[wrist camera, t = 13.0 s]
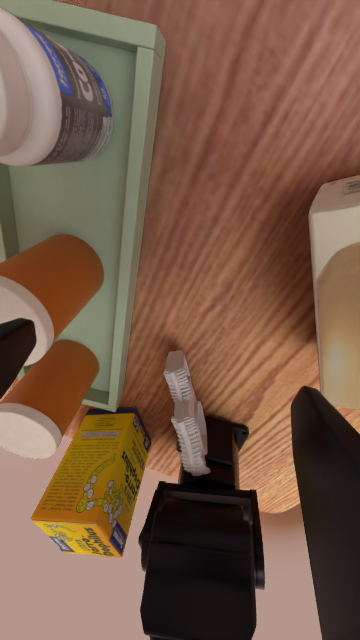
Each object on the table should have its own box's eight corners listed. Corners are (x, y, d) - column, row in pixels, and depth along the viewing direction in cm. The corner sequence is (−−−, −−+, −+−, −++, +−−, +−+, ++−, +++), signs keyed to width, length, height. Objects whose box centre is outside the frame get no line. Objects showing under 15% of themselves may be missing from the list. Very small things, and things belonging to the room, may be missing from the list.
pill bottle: (131, 96, 14) (39, 48, 7) (94, 178, 17) (-1, 201, 10) (48, 27, 13) (-146, -103, 6) (22, 124, 16) (-140, 107, 9)
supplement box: (153, 441, 32) (123, 559, 23) (107, 442, 33) (61, 554, 24) (137, 405, 29) (95, 525, 20) (87, 408, 30) (27, 521, 21)
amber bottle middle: (104, 305, 22) (49, 376, 15) (41, 290, 22) (-41, 353, 15) (107, 242, 19) (42, 295, 12) (34, 224, 19) (-70, 267, 12)
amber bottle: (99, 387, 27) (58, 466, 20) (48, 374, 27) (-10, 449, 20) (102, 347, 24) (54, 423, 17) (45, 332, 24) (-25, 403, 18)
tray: (123, 394, 28) (115, 412, 26) (33, 371, 28) (19, 388, 26) (166, 41, 14) (156, 24, 12) (-18, -3, 14) (-58, -27, 12)
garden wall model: (164, 349, 23) (156, 404, 18) (185, 345, 23) (183, 401, 17) (194, 438, 29) (195, 499, 24) (211, 436, 28) (215, 497, 23)
